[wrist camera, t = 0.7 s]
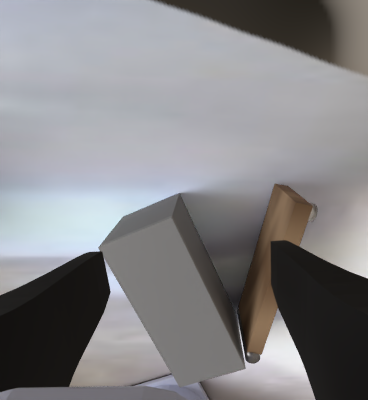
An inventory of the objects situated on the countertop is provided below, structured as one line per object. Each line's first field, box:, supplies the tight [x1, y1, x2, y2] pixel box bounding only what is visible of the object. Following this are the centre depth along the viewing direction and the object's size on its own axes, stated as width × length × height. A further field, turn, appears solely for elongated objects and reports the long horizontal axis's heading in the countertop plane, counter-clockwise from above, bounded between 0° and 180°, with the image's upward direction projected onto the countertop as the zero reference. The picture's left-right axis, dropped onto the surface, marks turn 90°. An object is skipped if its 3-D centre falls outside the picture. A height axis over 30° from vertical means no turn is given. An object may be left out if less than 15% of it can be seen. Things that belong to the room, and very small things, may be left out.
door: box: [237, 184, 317, 363], centre depth 19 cm, size 12×2×5 cm, turn 169°
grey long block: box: [98, 193, 246, 387], centre depth 20 cm, size 12×5×5 cm, turn 24°
